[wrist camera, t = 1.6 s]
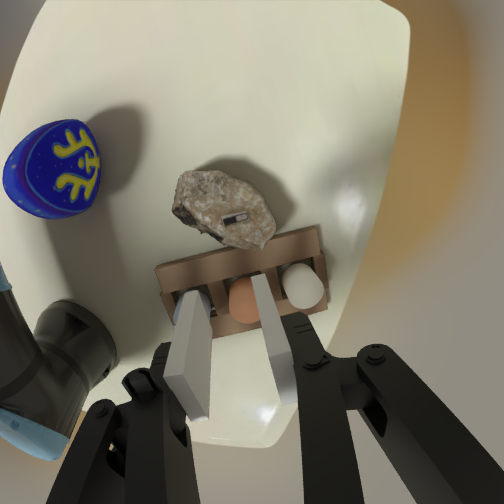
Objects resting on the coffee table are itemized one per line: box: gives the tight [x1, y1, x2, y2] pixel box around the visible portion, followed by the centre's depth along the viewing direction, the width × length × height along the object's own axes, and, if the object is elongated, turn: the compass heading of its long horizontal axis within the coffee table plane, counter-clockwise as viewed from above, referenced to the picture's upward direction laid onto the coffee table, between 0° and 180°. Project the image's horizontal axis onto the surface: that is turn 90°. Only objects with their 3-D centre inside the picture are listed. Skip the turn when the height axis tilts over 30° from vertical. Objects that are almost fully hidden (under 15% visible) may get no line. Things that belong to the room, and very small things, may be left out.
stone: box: [172, 170, 277, 250], centre depth 30 cm, size 7×12×7 cm, turn 70°
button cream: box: [282, 263, 324, 309], centre depth 34 cm, size 4×4×4 cm
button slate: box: [173, 290, 211, 327], centre depth 34 cm, size 4×4×4 cm
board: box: [155, 226, 329, 339], centre depth 37 cm, size 22×12×2 cm, turn 103°
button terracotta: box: [229, 277, 260, 324], centre depth 34 cm, size 4×4×4 cm
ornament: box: [3, 119, 101, 219], centre depth 23 cm, size 11×9×15 cm
